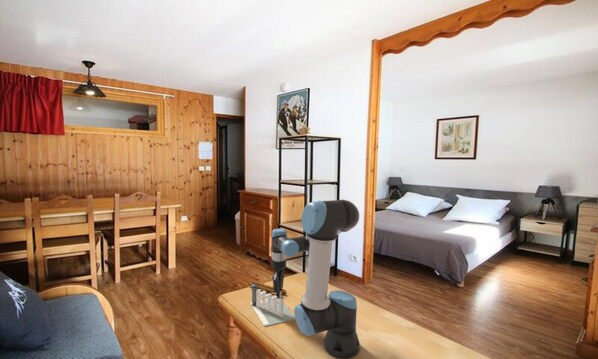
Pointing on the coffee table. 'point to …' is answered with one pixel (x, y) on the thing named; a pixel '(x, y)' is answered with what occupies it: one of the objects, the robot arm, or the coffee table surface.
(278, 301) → the fence panel
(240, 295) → the coffee table surface
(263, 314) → the board
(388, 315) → the coffee table surface
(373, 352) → the coffee table surface
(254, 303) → the corner post
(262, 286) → the decorative fence
